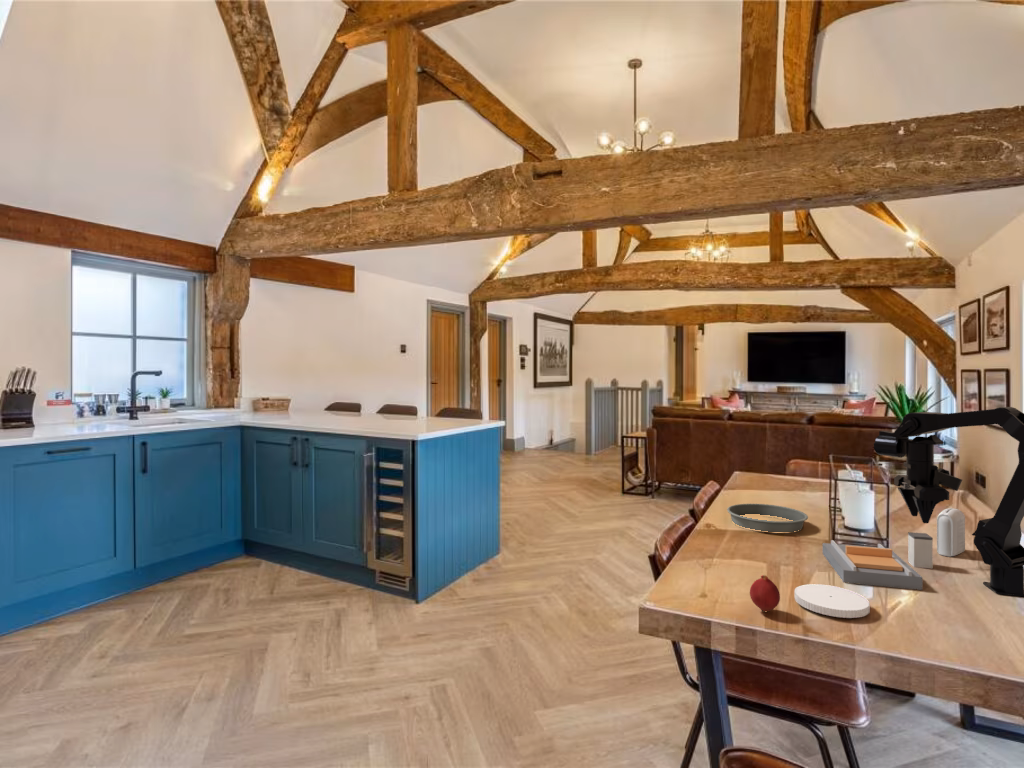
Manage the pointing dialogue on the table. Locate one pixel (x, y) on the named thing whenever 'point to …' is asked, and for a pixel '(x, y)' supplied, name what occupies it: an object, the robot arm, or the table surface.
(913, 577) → the socket plate
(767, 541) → the table surface
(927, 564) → the plug
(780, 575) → the table surface
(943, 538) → the photo printer
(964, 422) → the robot arm
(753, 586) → the onion
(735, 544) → the table surface
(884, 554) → the shutter
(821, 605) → the plastic lid
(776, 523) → the cake pan
